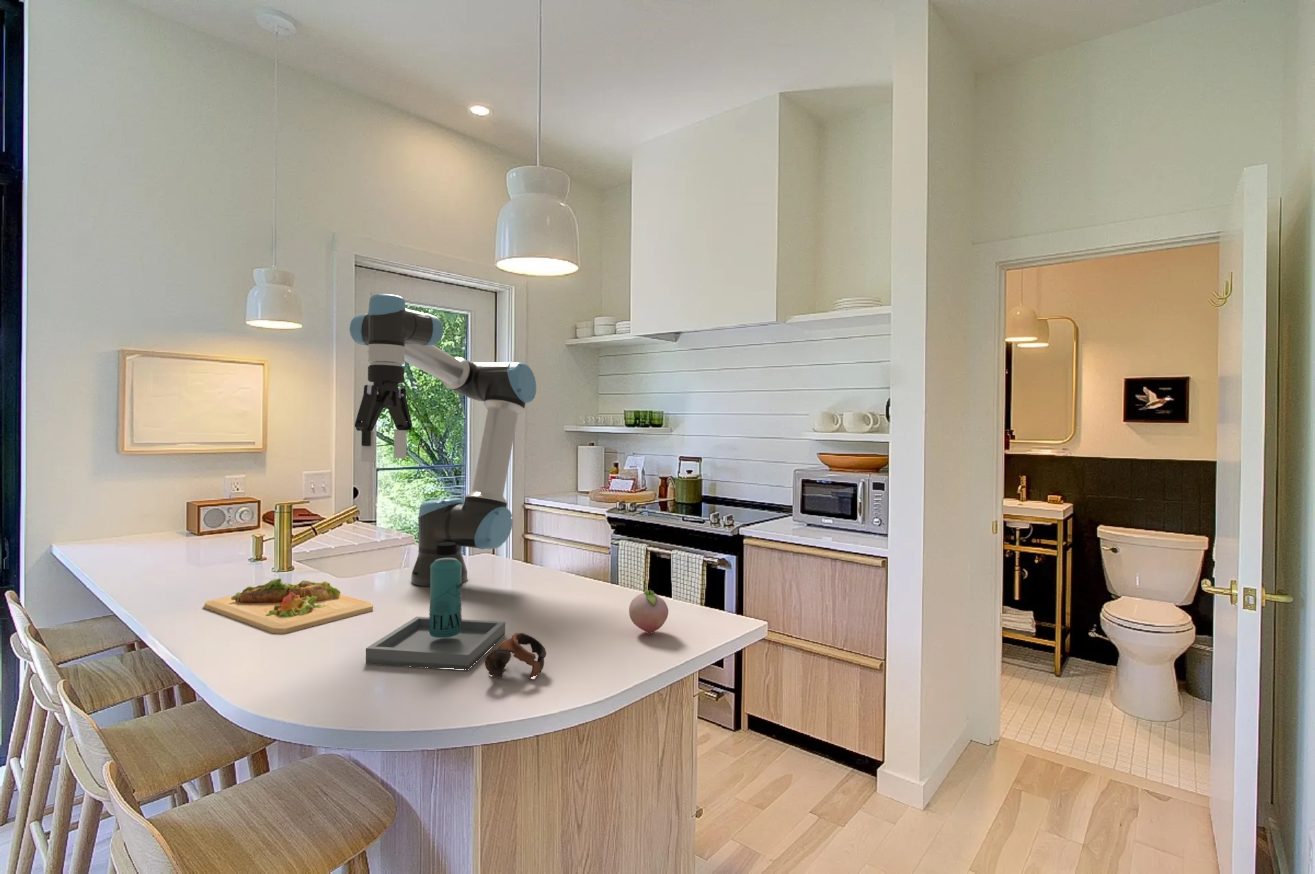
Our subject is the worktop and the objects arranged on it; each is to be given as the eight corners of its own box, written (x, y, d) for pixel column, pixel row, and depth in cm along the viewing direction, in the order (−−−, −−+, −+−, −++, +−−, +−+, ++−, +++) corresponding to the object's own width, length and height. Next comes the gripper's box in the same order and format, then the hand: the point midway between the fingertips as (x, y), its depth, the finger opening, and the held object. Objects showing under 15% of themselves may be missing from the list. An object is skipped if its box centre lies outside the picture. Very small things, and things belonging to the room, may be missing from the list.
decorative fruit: (623, 628, 147) (624, 584, 147) (657, 625, 150) (658, 582, 149) (635, 642, 138) (637, 595, 138) (672, 639, 141) (673, 593, 141)
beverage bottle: (426, 646, 130) (428, 546, 129) (429, 635, 136) (430, 540, 136) (461, 644, 131) (462, 545, 131) (462, 633, 138) (463, 539, 137)
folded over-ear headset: (507, 663, 126) (529, 627, 126) (537, 696, 121) (560, 659, 121) (462, 666, 116) (487, 628, 116) (494, 703, 111) (519, 662, 111)
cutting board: (378, 611, 157) (378, 580, 157) (278, 638, 137) (279, 602, 137) (297, 588, 176) (298, 560, 175) (200, 609, 156) (200, 577, 155)
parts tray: (416, 630, 142) (416, 616, 142) (504, 635, 140) (505, 621, 140) (365, 664, 122) (365, 648, 122) (467, 671, 120) (468, 655, 120)
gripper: (398, 369, 159) (397, 456, 159) (337, 359, 134) (335, 462, 134) (427, 369, 158) (426, 457, 158) (371, 360, 133) (370, 463, 134)
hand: (384, 459), depth 146 cm, fingers open, 13 cm apart
